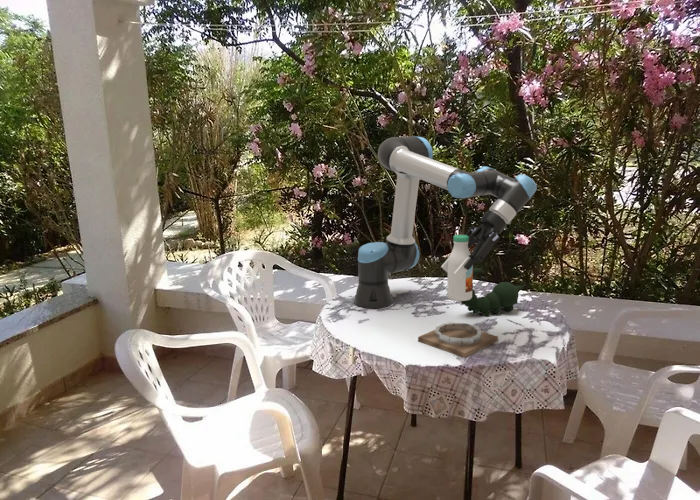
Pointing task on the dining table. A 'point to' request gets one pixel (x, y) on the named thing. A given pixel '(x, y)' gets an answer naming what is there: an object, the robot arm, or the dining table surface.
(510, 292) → the toy figurine
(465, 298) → the milk bottle
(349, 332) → the dining table surface
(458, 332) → the plate
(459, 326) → the metal collar
